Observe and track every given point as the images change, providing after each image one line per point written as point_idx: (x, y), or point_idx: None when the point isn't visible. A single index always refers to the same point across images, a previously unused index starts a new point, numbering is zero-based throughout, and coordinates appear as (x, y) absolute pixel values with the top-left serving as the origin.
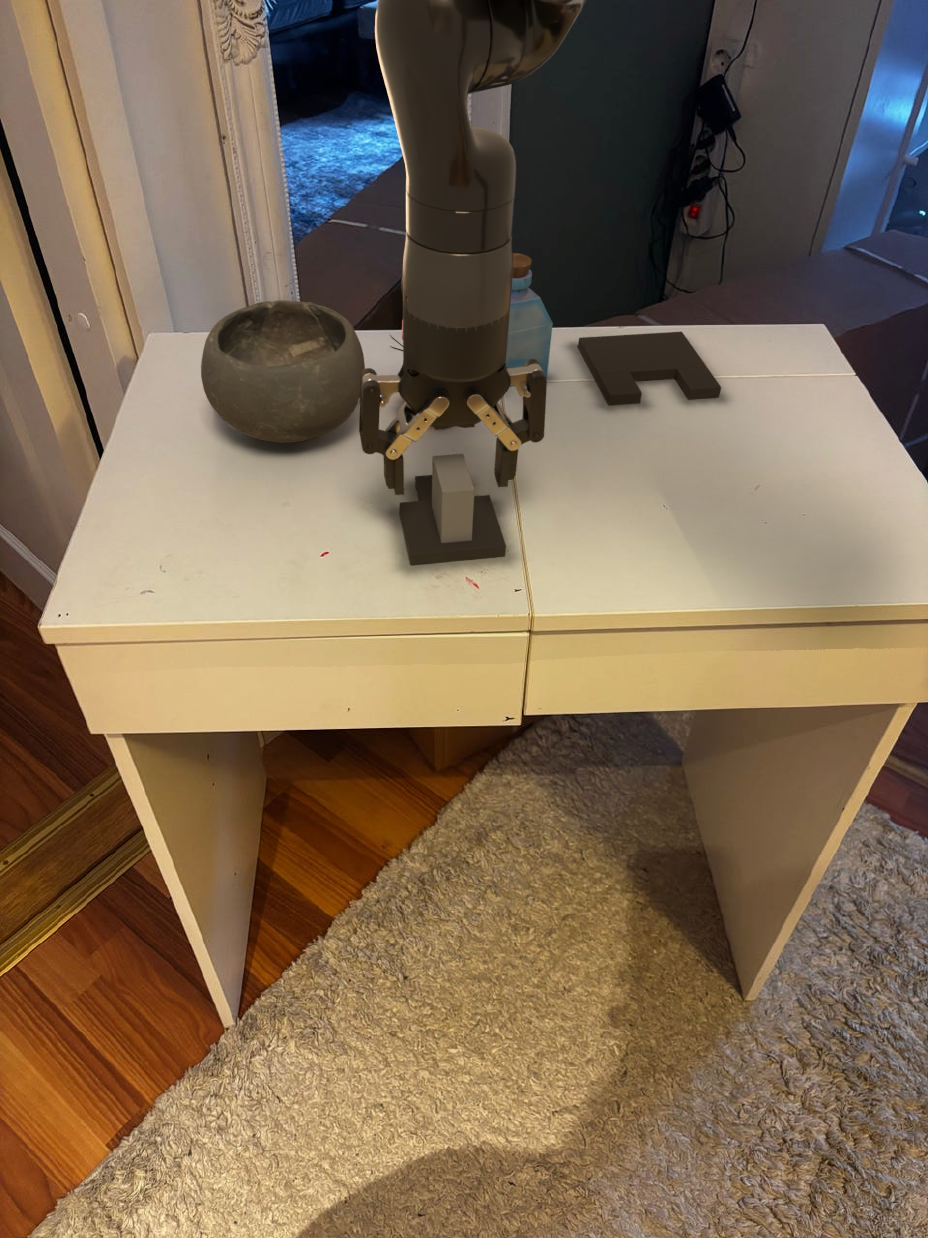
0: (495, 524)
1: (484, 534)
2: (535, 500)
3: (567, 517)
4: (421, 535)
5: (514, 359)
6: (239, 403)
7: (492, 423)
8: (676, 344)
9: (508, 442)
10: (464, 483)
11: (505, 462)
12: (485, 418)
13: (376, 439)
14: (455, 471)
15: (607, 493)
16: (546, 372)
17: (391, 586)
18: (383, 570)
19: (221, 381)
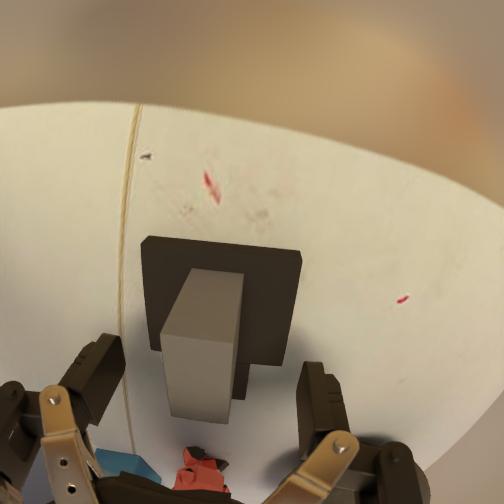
0: (148, 293)
1: (168, 276)
2: (99, 328)
3: (65, 288)
4: (270, 298)
5: (117, 474)
6: (421, 481)
7: (67, 464)
8: (14, 427)
9: (60, 405)
10: (178, 355)
11: (86, 370)
12: (79, 485)
13: (387, 475)
14: (191, 386)
15: (31, 311)
16: (95, 452)
17: (342, 212)
18: (342, 250)
19: (429, 497)
